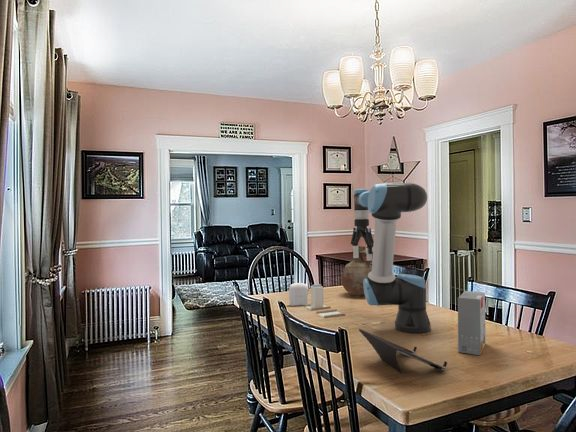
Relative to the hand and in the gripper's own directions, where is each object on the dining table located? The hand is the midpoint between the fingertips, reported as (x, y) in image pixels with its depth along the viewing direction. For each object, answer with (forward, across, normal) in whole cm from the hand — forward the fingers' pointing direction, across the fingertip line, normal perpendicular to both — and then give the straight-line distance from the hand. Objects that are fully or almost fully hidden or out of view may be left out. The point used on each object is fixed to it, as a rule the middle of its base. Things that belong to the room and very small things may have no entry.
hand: (362, 259), depth 213 cm
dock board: (+26, +2, +22) cm, 34 cm away
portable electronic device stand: (+28, -72, +27) cm, 81 cm away
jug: (+26, +32, -16) cm, 44 cm away
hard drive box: (+27, -68, -6) cm, 73 cm away
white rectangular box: (+25, +10, +22) cm, 35 cm away
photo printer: (+26, +24, +27) cm, 45 cm away
